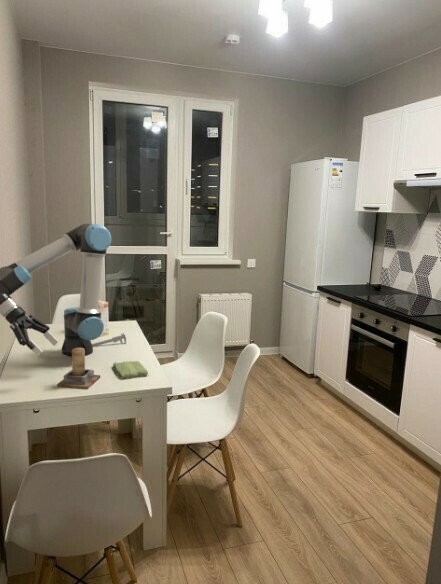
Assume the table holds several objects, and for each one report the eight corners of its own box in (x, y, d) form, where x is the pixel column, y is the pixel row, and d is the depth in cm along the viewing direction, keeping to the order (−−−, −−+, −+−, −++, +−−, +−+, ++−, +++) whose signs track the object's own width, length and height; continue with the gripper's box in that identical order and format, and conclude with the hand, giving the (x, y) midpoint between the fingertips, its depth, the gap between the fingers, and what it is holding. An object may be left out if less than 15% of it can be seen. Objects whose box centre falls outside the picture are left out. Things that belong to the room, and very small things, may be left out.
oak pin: (75, 376, 182) (74, 347, 180) (87, 377, 182) (86, 348, 179) (70, 381, 177) (69, 351, 175) (82, 382, 177) (81, 352, 174)
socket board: (71, 375, 187) (71, 366, 186) (100, 377, 185) (100, 368, 185) (56, 386, 174) (56, 377, 173) (87, 389, 173) (87, 379, 172)
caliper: (125, 343, 236) (125, 332, 235) (126, 344, 235) (126, 333, 234) (87, 347, 228) (86, 335, 226) (87, 347, 227) (87, 336, 226)
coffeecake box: (82, 332, 254) (81, 300, 251) (92, 330, 260) (91, 298, 257) (99, 337, 246) (98, 303, 242) (109, 334, 252) (108, 301, 248)
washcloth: (138, 364, 204) (138, 357, 204) (149, 377, 189) (149, 370, 188) (110, 367, 199) (110, 361, 198) (119, 381, 183) (119, 373, 183)
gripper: (23, 311, 191) (57, 345, 193) (-13, 325, 167) (26, 364, 168) (33, 299, 190) (67, 334, 191) (-1, 312, 165) (38, 352, 167)
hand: (48, 348), depth 180 cm, fingers open, 13 cm apart
